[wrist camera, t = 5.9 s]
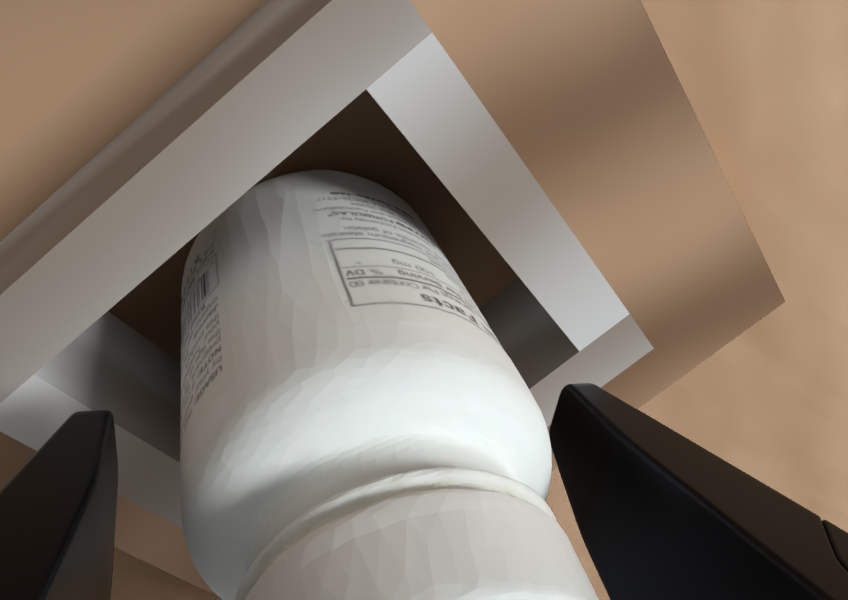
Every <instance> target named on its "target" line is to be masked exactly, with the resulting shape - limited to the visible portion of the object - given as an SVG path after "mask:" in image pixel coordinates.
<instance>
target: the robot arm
mask: <svg viewBox="0 0 848 600" xmlns="http://www.w3.org/2000/svg"><path fill="white" fill-rule="evenodd" d="M549 437H550V443H551V448H552V451H553V454H554V457H555V460H556V463H557V466H558V469H559V472H560V475H561V478H562V481H563V484H564V487H565V489H566V492H567V495H568V498H569V501H570V504H571V507H572V510H573V513H574V516H575V519H576V522H577V525H578V527H579V530H580V533H581V535H582V538H583V540H584V543H585V545H586V547H587V550H588V552H589V554H590V556H591V558H592V561H593V563H594V565H595V567H596V569H597V571H598V574H599V576H600V578H601V580H602V582H603V584H604V587H605V589H606V591H607V593H608V595H609V597H610V600H848V533H847V532H845V531H844V530H842V529H840V528H839V527H837V526H835V525H834V524H832V523H830V522H828V521H827V520H823V521H821V518H820V517H819V516H818V515H816V514H815V513H813V512H811V511H809V510H808V509H806V508H804V507H803V506H801V505H799V504H798V503H796V502H794V501H792V500H791V499H789V498H787V497H786V496H784V495H782V494H781V493H779V492H777V491H775V490H774V489H772V488H770V487H769V486H767V485H765V484H764V483H762V482H760V481H758V480H757V479H755V478H753V477H752V476H750V475H748V474H746V473H745V472H743V471H741V470H740V469H738V468H736V467H735V466H733V465H731V464H729V463H728V462H726V461H724V460H723V459H721V458H719V457H718V456H716V455H714V454H712V453H711V452H709V451H707V450H706V449H704V448H702V447H701V446H699V445H697V444H695V443H694V442H692V441H690V440H689V439H687V438H685V437H683V436H682V435H680V434H678V433H677V432H675V431H673V430H672V429H670V428H668V427H666V426H665V425H663V424H661V423H660V422H658V421H656V420H655V419H653V418H651V417H649V416H648V415H646V414H644V413H643V412H641V411H639V410H638V409H636V408H634V407H632V406H631V405H629V404H627V403H626V402H624V401H622V400H621V399H619V398H617V397H615V396H614V395H612V394H610V393H609V392H607V391H605V390H604V389H602V388H600V387H598V386H597V385H595V384H592V383H577V384H568V385H566V386H564V387H563V389H562V390H561V393H560V395H559V399H558V402H557V405H556V409H555V412H554V415H553V418H552V422H551V425H550V430H549ZM117 490H118V457H117V447H116V436H115V426H114V418H113V414H112V413H111V411H109V410H92V411H78V412H75V413H73V414H72V415H70V416H69V417H68V419H67V420H66V421H65V422H64V423H63V424H62V425H61V426H60V427H59V428H58V429H57V430H56V432H55V433H54V434H53V435H52V436H51V437H50V438H49V439H48V440H47V441H46V442H45V443H44V445H43V446H42V447H41V448H40V449H39V450H38V451H37V452H36V453H35V454H34V455H33V456H32V458H31V459H30V460H29V461H28V462H27V463H26V464H25V465H24V466H23V467H22V468H21V469H20V470H19V472H18V473H17V474H16V475H15V476H14V477H13V478H12V479H11V480H10V481H9V482H8V483H7V485H6V486H5V487H4V488H3V489H2V490H1V491H0V600H110V596H111V585H112V573H113V556H114V540H115V523H116V507H117Z"/></svg>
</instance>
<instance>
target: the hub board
mask: <svg viewBox="0 0 848 600" xmlns="http://www.w3.org/2000/svg"><path fill="white" fill-rule="evenodd" d="M307 170H333V171H339V172H345V173H349V174H353V175H356V176H360V177H363V178H366V179H368V180H371V181H373V182H376V183H378V184H380V185H382V186H383V187H385V188H387V189H389V190H390V191H392V192H393V193H395V194H396V195H397V196H399V197H400V198H401V199H403V200H404V201H405V202H406V203H407V204H408V205H409V206H410V207H411V208H412V209H413V210H414V211H415V212H416V213H417V214H418V216H419V217H420V219H421V220H422V221H423V223H424V224H425V226H426V227H427V228H428V230H429V232H430V233H431V235H432V236H433V237H434V239H435V240H436V242H437V243H438V245H439V246H440V248H441V250H442V251H443V253H444V255H445V256H446V258H447V259H448V261H449V262H450V264H451V266H452V267H453V269H454V270H455V272H456V274H457V275H458V277H459V279H460V280H461V282H462V283H463V285H464V286H465V288H466V290H467V291H468V293H469V294H470V296H471V298H472V299H473V301H474V302H475V304H476V305H477V307H478V309H479V310H480V312H481V313H482V315H483V316H484V318H485V320H486V321H487V323H488V325H489V327H490V328H491V330H492V331H493V333H494V334H495V336H496V338H497V339H498V341H499V342H500V344H501V346H502V347H503V349H504V350H505V352H506V353H507V355H508V356H509V358H510V359H511V360H512V362H513V364H514V366H515V367H516V369H517V370H518V372H519V373H520V375H521V377H522V378H523V380H524V382H525V383H526V385H527V387H528V388H529V390H530V392H531V394H532V395H533V397H534V399H535V401H536V403H537V404H538V406H539V408H540V410H541V412H542V415H543V417H544V420H545V422H546V426H547V429H548V433H549V430H550V425H551V422H552V418H553V415H554V412H555V409H556V405H557V402H558V399H559V395H560V393H561V390H562V389H563V387H564V386H566V385H568V384H577V383H592V384H595V385H597V386H598V387H600V388H602V389H604V390H605V391H607V392H609V393H610V394H612V395H614V396H615V397H617V398H619V399H621V400H622V401H624V402H626V403H627V404H629V405H631V406H632V407H634V408H636V409H638V408H639V407H641V406H642V405H644V404H645V403H646V402H648V401H649V400H650V399H652V398H653V397H655V396H656V395H657V394H659V393H660V392H661V391H663V390H664V389H666V388H667V387H668V386H670V385H671V384H672V383H674V382H675V381H677V380H678V379H679V378H681V377H682V376H683V375H685V374H686V373H688V372H689V371H690V370H692V369H693V368H695V367H696V366H697V365H699V364H700V363H701V362H703V361H704V360H706V359H707V358H708V357H710V356H711V355H712V354H714V353H715V352H717V351H718V350H719V349H721V348H722V347H723V346H725V345H726V344H728V343H729V342H730V341H732V340H733V339H734V338H736V337H737V336H739V335H740V334H741V333H743V332H744V331H746V330H747V329H748V328H750V327H751V326H752V325H754V324H755V323H757V322H758V321H759V320H761V319H762V318H763V317H765V316H766V315H768V314H769V313H770V312H772V311H773V310H774V309H776V308H777V307H779V306H780V305H781V304H783V303H784V302H785V300H784V298H783V296H782V294H781V292H780V290H779V288H778V285H777V283H776V281H775V279H774V277H773V275H772V273H771V271H770V269H769V267H768V265H767V263H766V261H765V258H764V256H763V254H762V252H761V250H760V248H759V246H758V244H757V242H756V240H755V238H754V236H753V233H752V231H751V229H750V227H749V225H748V223H747V221H746V219H745V217H744V215H743V213H742V211H741V208H740V206H739V204H738V202H737V200H736V198H735V196H734V194H733V192H732V190H731V188H730V186H729V184H728V181H727V179H726V177H725V175H724V173H723V171H722V169H721V167H720V165H719V163H718V161H717V159H716V156H715V154H714V152H713V150H712V148H711V146H710V144H709V142H708V140H707V138H706V136H705V134H704V131H703V129H702V127H701V125H700V123H699V121H698V119H697V117H696V115H695V113H694V111H693V109H692V107H691V104H690V102H689V100H688V98H687V96H686V94H685V92H684V90H683V88H682V86H681V84H680V82H679V79H678V77H677V75H676V73H675V71H674V69H673V67H672V65H671V63H670V61H669V59H668V57H667V54H666V52H665V50H664V48H663V46H662V44H661V42H660V40H659V38H658V36H657V34H656V32H655V30H654V27H653V25H652V23H651V21H650V19H649V17H648V15H647V13H646V11H645V9H644V7H643V5H642V2H641V0H0V491H1V490H2V489H3V488H4V487H5V486H6V485H7V483H8V482H9V481H10V480H11V479H12V478H13V477H14V476H15V475H16V474H17V473H18V472H19V470H20V469H21V468H22V467H23V466H24V465H25V464H26V463H27V462H28V461H29V460H30V459H31V458H32V456H33V455H34V454H35V453H36V452H37V451H38V450H39V449H40V448H41V447H42V446H43V445H44V443H45V442H46V441H47V440H48V439H49V438H50V437H51V436H52V435H53V434H54V433H55V432H56V430H57V429H58V428H59V427H60V426H61V425H62V424H63V423H64V422H65V421H66V420H67V419H68V417H69V416H70V415H72V414H73V413H75V412H78V411H92V410H109V411H111V413H112V414H113V418H114V426H115V436H116V447H117V457H118V490H117V507H116V523H115V540H114V547H115V548H117V549H119V550H121V551H124V552H126V553H128V554H130V555H132V556H134V557H136V558H138V559H140V560H142V561H144V562H146V563H148V564H150V565H153V566H155V567H157V568H159V569H161V570H163V571H165V572H167V573H169V574H171V575H173V576H175V577H177V578H179V579H181V580H184V581H186V582H188V583H190V584H192V585H194V586H196V587H198V588H200V589H202V590H204V591H206V592H208V593H210V594H212V595H215V596H217V597H219V596H218V595H217V594H215V593H214V592H213V591H212V590H211V589H210V587H209V586H208V585H207V584H206V582H205V581H204V580H203V579H202V577H201V575H200V574H199V572H198V570H197V569H196V567H195V565H194V563H193V561H192V558H191V556H190V554H189V551H188V547H187V544H186V540H185V536H184V532H183V527H182V516H181V497H180V424H181V289H182V279H183V273H184V268H185V263H186V261H187V258H188V255H189V253H190V250H191V248H192V246H193V244H194V242H195V240H196V238H197V236H198V235H199V233H200V232H201V230H203V229H204V228H205V227H206V226H207V225H208V224H210V223H211V222H212V221H213V220H214V219H215V218H217V217H218V216H219V215H220V214H221V213H222V212H224V211H225V210H226V209H227V208H228V207H229V206H231V205H232V204H233V203H234V202H235V201H236V200H238V199H239V198H240V197H241V196H242V195H243V194H245V193H246V192H247V191H248V190H249V189H250V188H252V187H253V186H254V185H257V184H259V183H261V182H263V181H266V180H268V179H271V178H275V177H278V176H281V175H285V174H289V173H293V172H300V171H307ZM551 454H552V471H553V470H554V469H555V468H557V467H558V466H557V463H556V460H555V457H554V454H553V451H552V448H551ZM219 598H220V597H219Z"/></svg>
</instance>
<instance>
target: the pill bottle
mask: <svg viewBox="0 0 848 600" xmlns="http://www.w3.org/2000/svg"><path fill="white" fill-rule="evenodd" d="M551 471H552V454H551V443H550V437H549V433H548V429H547V426H546V422H545V420H544V417H543V415H542V412H541V410H540V408H539V406H538V404H537V403H536V401H535V399H534V397H533V395H532V394H531V392H530V390H529V388H528V387H527V385H526V383H525V382H524V380H523V378H522V377H521V375H520V373H519V372H518V370H517V369H516V367H515V366H514V364H513V362H512V360H511V359H510V358H509V356H508V355H507V353H506V352H505V350H504V349H503V347H502V346H501V344H500V342H499V341H498V339H497V338H496V336H495V334H494V333H493V331H492V330H491V328H490V327H489V325H488V323H487V321H486V320H485V318H484V316H483V315H482V313H481V312H480V310H479V309H478V307H477V305H476V304H475V302H474V301H473V299H472V298H471V296H470V294H469V293H468V291H467V290H466V288H465V286H464V285H463V283H462V282H461V280H460V279H459V277H458V275H457V274H456V272H455V270H454V269H453V267H452V266H451V264H450V262H449V261H448V259H447V258H446V256H445V255H444V253H443V251H442V250H441V248H440V246H439V245H438V243H437V242H436V240H435V239H434V237H433V236H432V235H431V233H430V232H429V230H428V228H427V227H426V226H425V224H424V223H423V221H422V220H421V219H420V217H419V216H418V214H417V213H416V212H415V211H414V210H413V209H412V208H411V207H410V206H409V205H408V204H407V203H406V202H405V201H404V200H403V199H401V198H400V197H399V196H397V195H396V194H395V193H393V192H392V191H390V190H389V189H387V188H385V187H383V186H382V185H380V184H378V183H376V182H373V181H371V180H368V179H366V178H363V177H360V176H356V175H353V174H349V173H345V172H339V171H333V170H307V171H300V172H293V173H289V174H285V175H281V176H278V177H275V178H271V179H268V180H266V181H263V182H261V183H259V184H257V185H254V186H253V187H252V188H250V189H249V190H248V191H247V192H246V193H245V194H243V195H242V196H241V197H240V198H239V199H238V200H236V201H235V202H234V203H233V204H232V205H231V206H229V207H228V208H227V209H226V210H225V211H224V212H222V213H221V214H220V215H219V216H218V217H217V218H215V219H214V220H213V221H212V222H211V223H210V224H208V225H207V226H206V227H205V228H204V229H203V230H201V232H200V233H199V235H198V236H197V238H196V240H195V242H194V244H193V246H192V248H191V250H190V253H189V255H188V258H187V261H186V263H185V268H184V273H183V279H182V289H181V424H180V497H181V516H182V527H183V532H184V536H185V540H186V544H187V547H188V551H189V554H190V556H191V558H192V561H193V563H194V565H195V567H196V569H197V570H198V572H199V574H200V575H201V577H202V579H203V580H204V581H205V582H206V584H207V585H208V586H209V587H210V589H211V590H212V591H213V592H214V593H215V594H217V595H218V596H219V597H220V598H221V599H222V600H599V599H598V597H597V595H596V593H595V591H594V589H593V587H592V585H591V583H590V581H589V579H588V577H587V575H586V573H585V571H584V569H583V567H582V565H581V563H580V561H579V559H578V557H577V555H576V553H575V551H574V549H573V547H572V545H571V543H570V541H569V539H568V537H567V535H566V533H565V532H564V531H563V529H562V528H561V527H560V526H559V524H558V523H557V520H556V518H555V516H554V514H553V512H552V511H551V509H550V507H549V506H548V505H547V504H546V502H545V500H546V497H547V494H548V490H549V485H550V480H551Z"/></svg>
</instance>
